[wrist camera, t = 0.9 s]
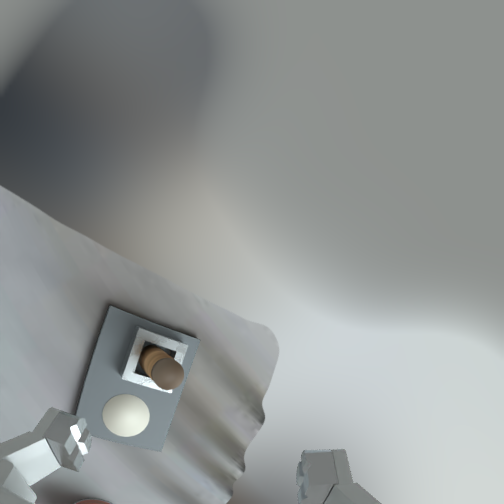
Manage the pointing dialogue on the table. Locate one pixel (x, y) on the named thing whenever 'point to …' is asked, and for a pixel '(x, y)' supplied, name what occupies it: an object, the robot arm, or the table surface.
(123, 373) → the collar
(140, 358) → the plug
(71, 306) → the table surface
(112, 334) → the base plate
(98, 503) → the canned food
